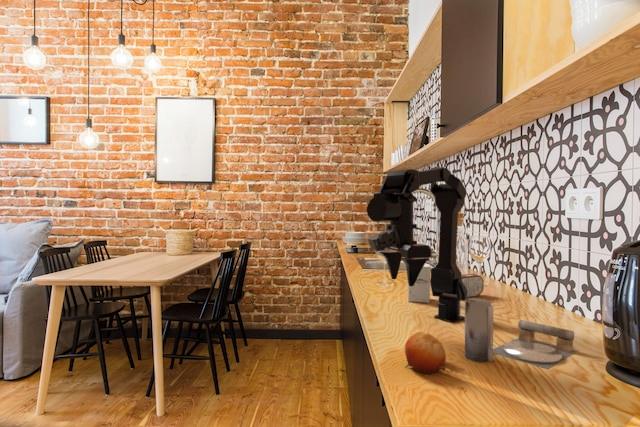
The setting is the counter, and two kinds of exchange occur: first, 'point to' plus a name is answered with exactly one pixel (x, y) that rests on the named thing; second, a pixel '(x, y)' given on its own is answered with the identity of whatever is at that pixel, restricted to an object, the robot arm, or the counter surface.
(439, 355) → the fruit
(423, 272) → the supplement box
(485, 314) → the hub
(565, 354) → the board
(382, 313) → the counter surface
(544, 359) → the flange disc
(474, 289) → the tin
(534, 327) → the bar handle
